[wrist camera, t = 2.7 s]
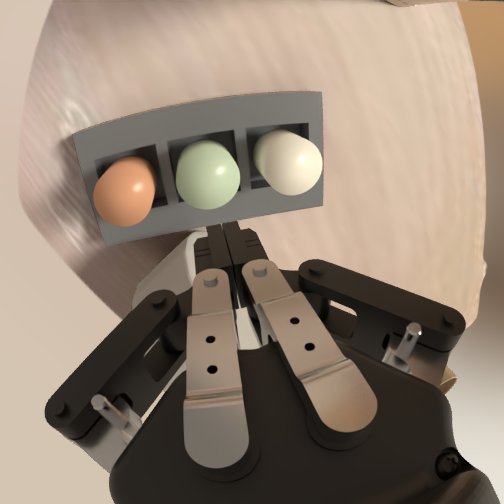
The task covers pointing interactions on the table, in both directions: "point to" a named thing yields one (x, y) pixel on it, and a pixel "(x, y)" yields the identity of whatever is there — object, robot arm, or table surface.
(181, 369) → the alarm clock
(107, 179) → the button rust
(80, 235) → the table surface
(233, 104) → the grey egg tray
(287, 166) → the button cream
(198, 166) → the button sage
